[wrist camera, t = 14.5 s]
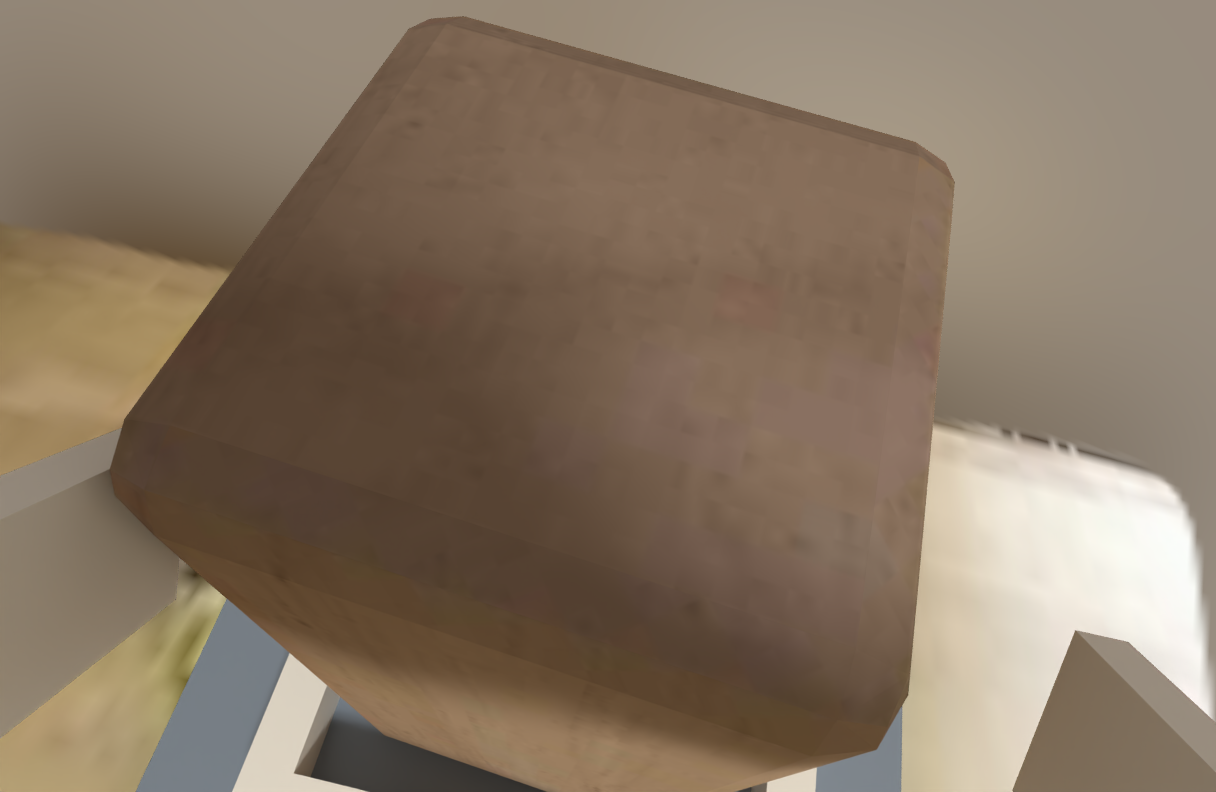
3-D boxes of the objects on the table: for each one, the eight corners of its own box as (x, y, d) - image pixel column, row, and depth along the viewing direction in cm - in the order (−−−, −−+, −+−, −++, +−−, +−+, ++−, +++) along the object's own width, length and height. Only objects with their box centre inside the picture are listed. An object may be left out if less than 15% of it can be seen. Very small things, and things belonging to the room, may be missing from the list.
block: (474, 467, 31) (415, -24, 14) (719, 545, 30) (983, 133, 13) (360, 729, 26) (31, 474, 8) (652, 831, 25) (941, 778, 8)
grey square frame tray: (123, 848, 24) (76, 847, 22) (360, 337, 35) (347, 295, 32) (884, 1039, 24) (928, 1062, 21) (895, 459, 34) (926, 426, 31)
